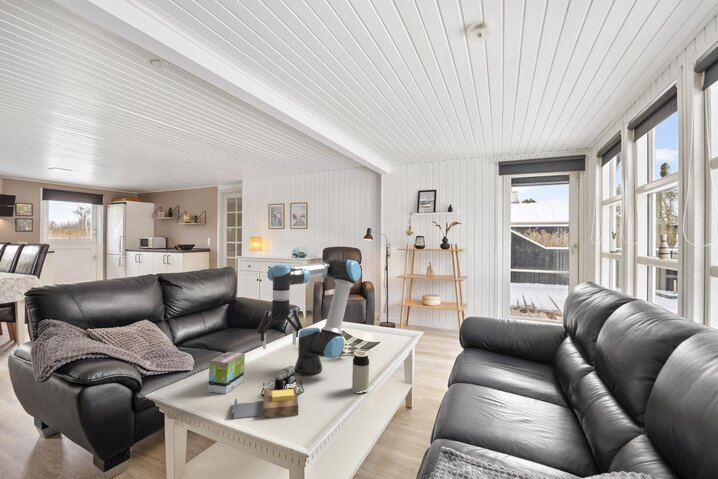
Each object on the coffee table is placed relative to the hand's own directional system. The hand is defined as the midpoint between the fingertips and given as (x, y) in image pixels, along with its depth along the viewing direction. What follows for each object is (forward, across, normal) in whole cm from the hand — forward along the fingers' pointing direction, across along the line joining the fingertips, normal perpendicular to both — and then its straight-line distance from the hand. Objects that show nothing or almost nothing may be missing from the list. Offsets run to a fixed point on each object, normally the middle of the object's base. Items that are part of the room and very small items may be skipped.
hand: (279, 346), depth 149 cm
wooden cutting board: (+24, +1, +7) cm, 25 cm away
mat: (+24, +13, +4) cm, 28 cm away
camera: (+24, -7, -9) cm, 27 cm away
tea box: (+24, +19, -24) cm, 39 cm away
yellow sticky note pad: (+20, 0, +7) cm, 21 cm away
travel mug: (+24, -38, +7) cm, 46 cm away
